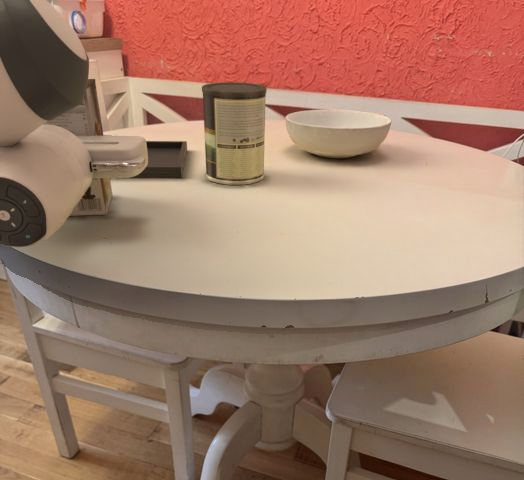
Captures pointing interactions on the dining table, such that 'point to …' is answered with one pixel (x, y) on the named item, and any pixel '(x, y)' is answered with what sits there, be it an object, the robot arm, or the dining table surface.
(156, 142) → the tray
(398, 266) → the dining table surface
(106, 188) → the coffee box
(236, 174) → the coffee can
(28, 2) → the robot arm
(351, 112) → the serving bowl
